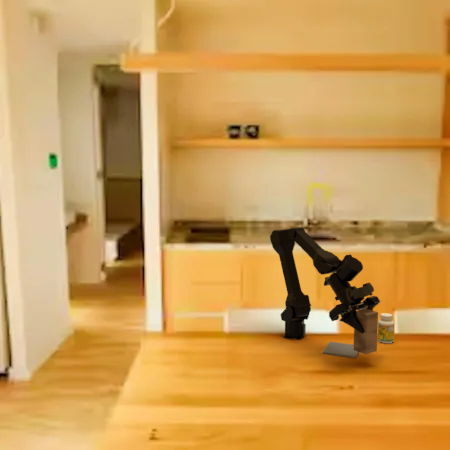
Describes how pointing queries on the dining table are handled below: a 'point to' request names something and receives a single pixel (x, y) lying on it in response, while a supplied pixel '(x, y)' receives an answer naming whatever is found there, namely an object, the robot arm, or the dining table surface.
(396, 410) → the dining table surface
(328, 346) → the charcoal mat
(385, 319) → the supplement bottle
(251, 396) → the dining table surface
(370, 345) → the walnut block
